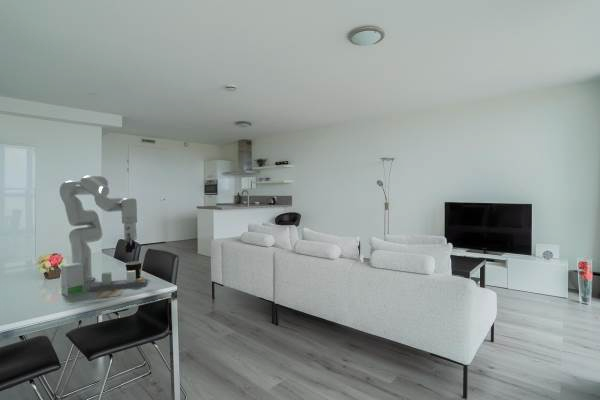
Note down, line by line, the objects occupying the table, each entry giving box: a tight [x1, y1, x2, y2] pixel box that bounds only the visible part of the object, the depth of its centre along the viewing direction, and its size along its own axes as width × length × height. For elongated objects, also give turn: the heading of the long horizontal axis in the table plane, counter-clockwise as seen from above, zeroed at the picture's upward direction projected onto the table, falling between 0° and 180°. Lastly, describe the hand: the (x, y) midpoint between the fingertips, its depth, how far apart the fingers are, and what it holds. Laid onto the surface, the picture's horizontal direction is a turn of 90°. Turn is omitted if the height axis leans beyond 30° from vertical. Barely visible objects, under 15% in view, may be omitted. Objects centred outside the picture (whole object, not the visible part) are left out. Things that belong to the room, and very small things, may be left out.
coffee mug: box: [125, 260, 143, 279], centre depth 193 cm, size 12×9×10 cm
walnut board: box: [95, 288, 125, 299], centre depth 164 cm, size 11×11×1 cm
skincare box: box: [60, 262, 85, 297], centre depth 166 cm, size 8×7×16 cm
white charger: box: [126, 270, 136, 282], centre depth 178 cm, size 4×3×8 cm
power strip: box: [89, 277, 147, 292], centre depth 176 cm, size 26×8×4 cm, turn 109°
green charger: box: [101, 272, 113, 285], centre depth 174 cm, size 4×3×8 cm
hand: (130, 250), depth 178 cm, fingers open, 9 cm apart
